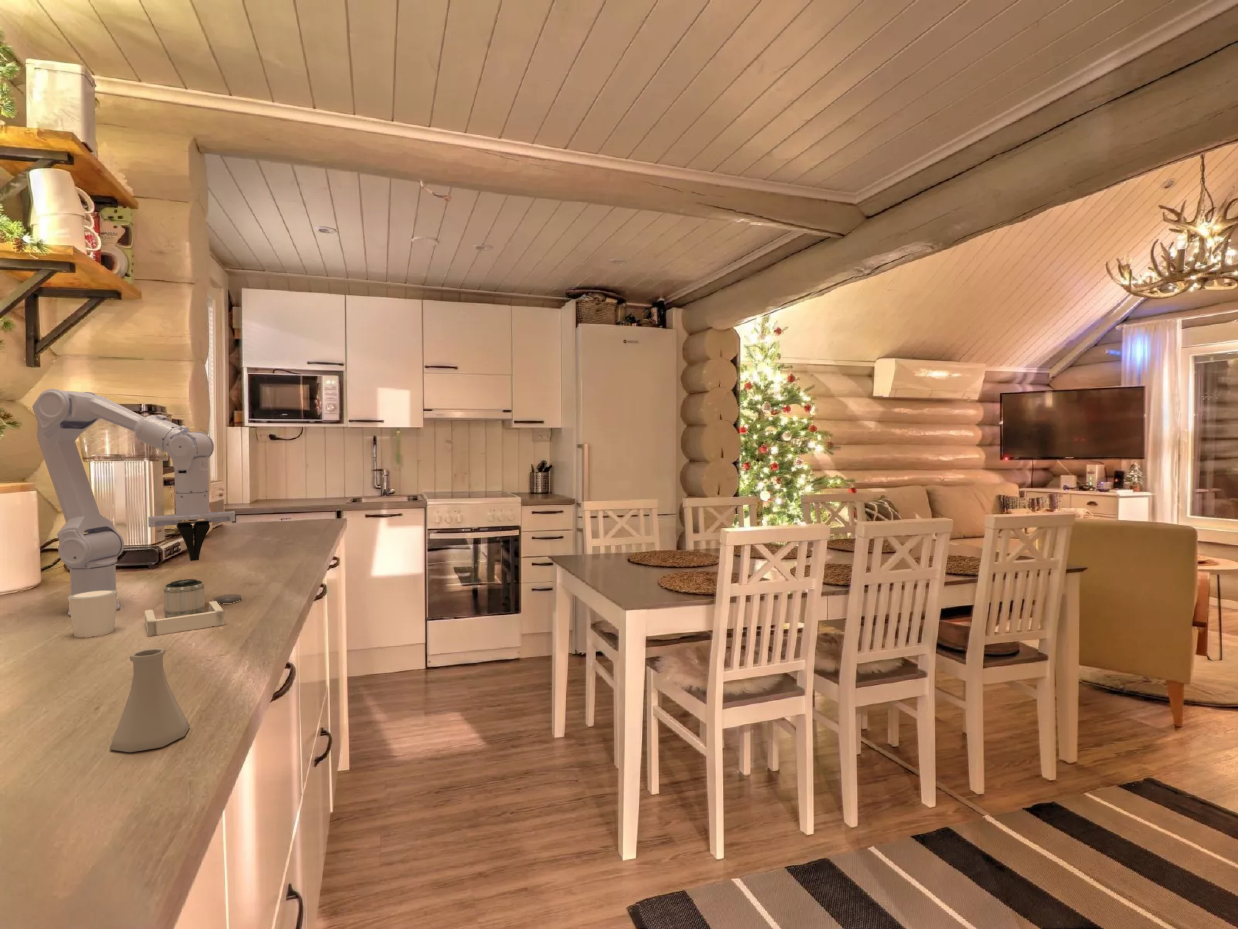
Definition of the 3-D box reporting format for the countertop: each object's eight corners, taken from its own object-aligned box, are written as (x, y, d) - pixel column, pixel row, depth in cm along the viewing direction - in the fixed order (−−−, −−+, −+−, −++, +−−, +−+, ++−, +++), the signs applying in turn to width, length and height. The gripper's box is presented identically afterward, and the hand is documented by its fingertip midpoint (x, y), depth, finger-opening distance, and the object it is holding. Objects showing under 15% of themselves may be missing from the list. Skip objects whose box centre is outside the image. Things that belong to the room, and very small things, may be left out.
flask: (138, 727, 78) (134, 643, 78) (202, 724, 79) (199, 641, 78) (94, 756, 71) (90, 664, 71) (165, 753, 72) (162, 661, 71)
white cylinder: (91, 639, 113) (89, 598, 113) (58, 637, 115) (57, 597, 114) (128, 628, 120) (127, 589, 120) (97, 626, 121) (95, 588, 121)
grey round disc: (215, 601, 141) (215, 595, 141) (242, 598, 143) (242, 593, 143) (212, 606, 136) (212, 601, 136) (240, 604, 138) (240, 598, 138)
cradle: (144, 624, 123) (144, 610, 123) (216, 613, 130) (216, 600, 130) (148, 636, 115) (147, 622, 115) (224, 624, 122) (224, 611, 122)
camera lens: (213, 620, 125) (212, 579, 125) (181, 629, 119) (180, 586, 119) (188, 617, 127) (187, 576, 127) (156, 626, 121) (155, 583, 121)
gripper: (149, 495, 125) (151, 567, 125) (236, 491, 134) (238, 558, 134) (146, 493, 131) (149, 562, 131) (231, 489, 139) (233, 553, 140)
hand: (194, 560), depth 133 cm, fingers closed
